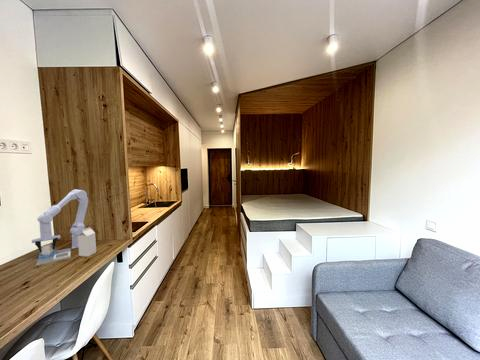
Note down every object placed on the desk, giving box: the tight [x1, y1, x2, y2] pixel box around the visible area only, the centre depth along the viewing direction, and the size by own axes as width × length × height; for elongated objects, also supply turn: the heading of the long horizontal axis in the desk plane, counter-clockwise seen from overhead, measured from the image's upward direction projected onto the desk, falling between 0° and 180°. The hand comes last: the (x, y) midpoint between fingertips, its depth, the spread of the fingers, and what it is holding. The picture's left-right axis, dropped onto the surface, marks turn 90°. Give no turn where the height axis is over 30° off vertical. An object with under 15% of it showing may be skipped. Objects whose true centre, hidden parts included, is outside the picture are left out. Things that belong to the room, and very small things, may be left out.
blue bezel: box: [38, 249, 57, 259], centre depth 146 cm, size 9×11×1 cm
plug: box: [40, 243, 54, 255], centre depth 146 cm, size 4×4×6 cm
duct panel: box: [35, 247, 72, 266], centre depth 144 cm, size 17×21×2 cm
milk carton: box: [78, 226, 97, 257], centre depth 147 cm, size 7×7×19 cm
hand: (47, 250), depth 146 cm, fingers closed on plug, 6 cm apart
